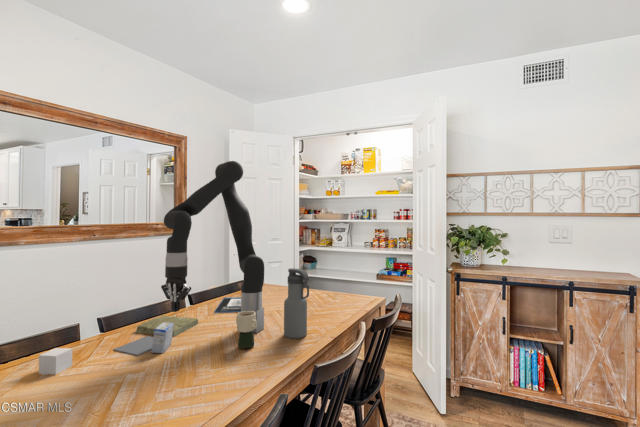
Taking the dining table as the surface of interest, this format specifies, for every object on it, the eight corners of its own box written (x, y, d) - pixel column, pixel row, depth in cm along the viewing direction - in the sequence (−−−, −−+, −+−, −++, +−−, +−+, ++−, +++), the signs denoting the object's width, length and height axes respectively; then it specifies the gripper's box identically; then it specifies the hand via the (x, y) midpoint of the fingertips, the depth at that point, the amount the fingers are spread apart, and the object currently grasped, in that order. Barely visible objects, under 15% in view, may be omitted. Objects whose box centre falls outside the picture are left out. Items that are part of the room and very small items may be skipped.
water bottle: (311, 333, 142) (312, 268, 142) (300, 340, 133) (301, 271, 133) (291, 329, 146) (291, 267, 146) (279, 336, 137) (280, 270, 137)
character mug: (262, 347, 126) (263, 313, 126) (249, 353, 120) (249, 318, 120) (243, 341, 132) (243, 308, 132) (229, 346, 126) (229, 313, 127)
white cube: (55, 365, 110) (56, 347, 110) (72, 366, 109) (72, 348, 109) (38, 374, 104) (38, 355, 104) (55, 375, 103) (56, 356, 103)
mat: (171, 341, 131) (171, 340, 131) (137, 355, 118) (137, 354, 118) (147, 336, 136) (147, 335, 136) (113, 350, 122) (113, 349, 122)
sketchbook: (213, 314, 170) (213, 310, 170) (224, 300, 200) (224, 296, 200) (255, 313, 173) (255, 309, 173) (259, 299, 203) (259, 295, 203)
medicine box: (159, 344, 127) (162, 322, 127) (171, 345, 127) (174, 323, 128) (150, 352, 119) (154, 328, 119) (163, 353, 120) (166, 330, 120)
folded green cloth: (161, 321, 158) (161, 314, 158) (199, 324, 154) (199, 317, 154) (131, 335, 140) (132, 326, 140) (173, 338, 136) (173, 330, 136)
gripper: (197, 264, 122) (196, 310, 122) (171, 262, 127) (170, 306, 127) (182, 267, 115) (181, 316, 115) (155, 264, 120) (153, 311, 120)
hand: (175, 311), depth 121 cm, fingers closed
